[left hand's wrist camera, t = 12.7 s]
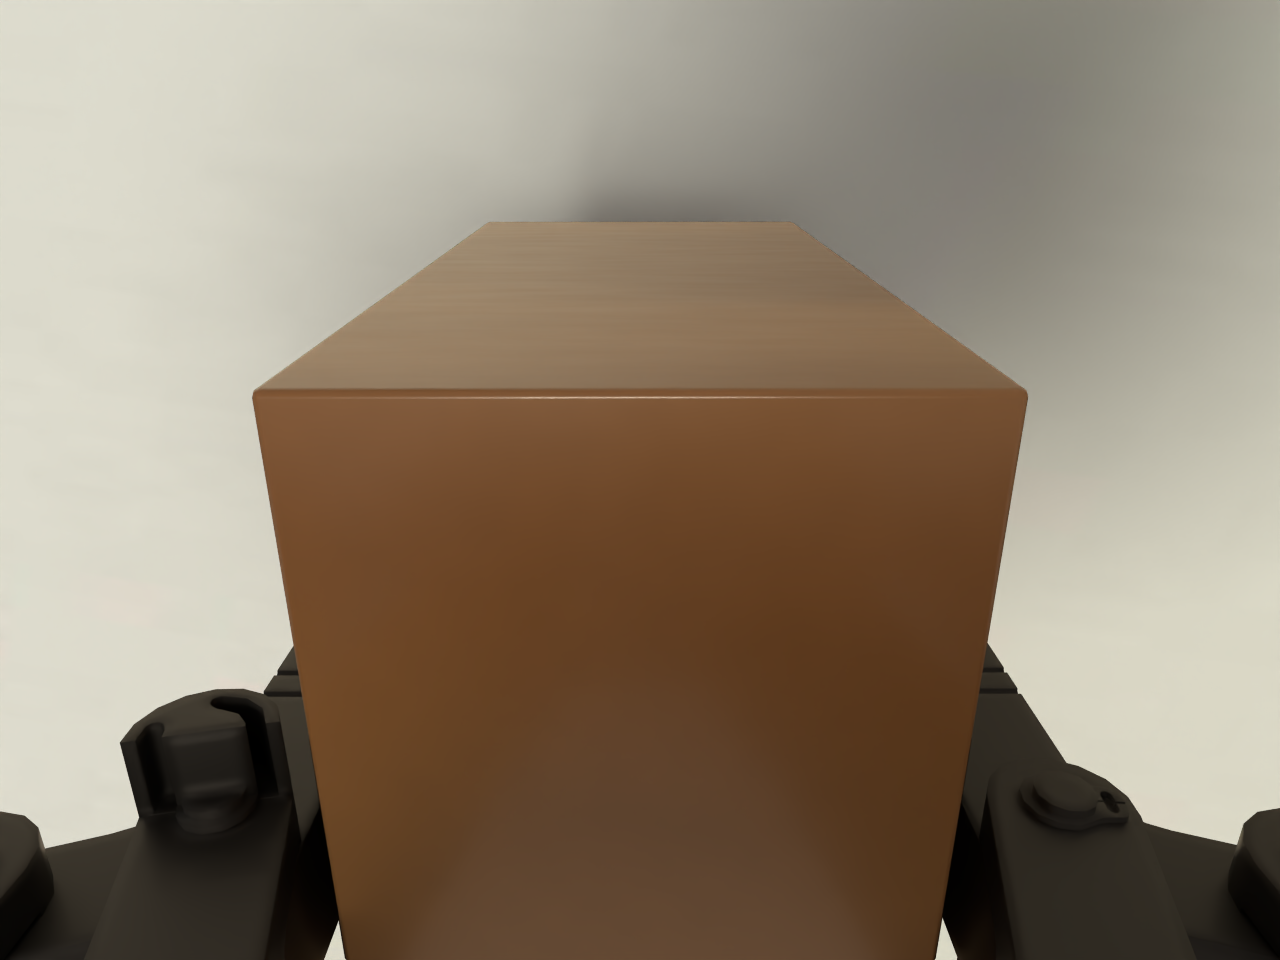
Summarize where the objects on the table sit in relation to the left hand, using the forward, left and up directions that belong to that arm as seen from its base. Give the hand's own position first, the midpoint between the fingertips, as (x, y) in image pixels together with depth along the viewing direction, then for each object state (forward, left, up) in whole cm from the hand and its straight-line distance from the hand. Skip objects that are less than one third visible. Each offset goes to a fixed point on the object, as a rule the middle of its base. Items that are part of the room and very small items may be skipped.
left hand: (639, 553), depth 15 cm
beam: (+12, +22, -1) cm, 25 cm away
